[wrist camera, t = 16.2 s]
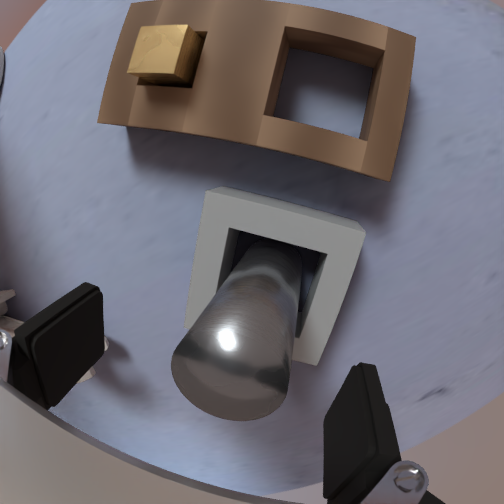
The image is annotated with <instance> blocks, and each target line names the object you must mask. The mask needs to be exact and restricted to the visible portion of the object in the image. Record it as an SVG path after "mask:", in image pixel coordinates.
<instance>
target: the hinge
mask: <svg viewBox="0 0 504 504" xmlns="http://www.w3.org/2000/svg"><path fill="white" fill-rule="evenodd" d="M15 295H16V294H15V291H14V289H10V290H4V291H0V316H2V315H3V314H5V313H6V312H7V304H6V302H5V301H6V300H8V299H10V298H11V297H13V296H15Z"/></svg>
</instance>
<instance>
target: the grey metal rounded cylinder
mask: <svg viewBox="0 0 504 504" xmlns="http://www.w3.org/2000/svg"><path fill="white" fill-rule="evenodd" d="M301 275H302V260H301V257H300V255H299V253H298V251H297V250H296V248H295V247H294V246H293V245H292V244H290V243H286V242H282V241H279V240H275V239H271V238H264V239H261V240H259V241H257V242H255V243H254V244H253V245H252V246H251V247H250V248H249V249H248V250H247V252H246V253H245V255H244V256H243V257H242V259H241V260H240V261H239V263H238V264H237V265H236V267H235V268H234V270H233V271H232V272H231V274H230V275H229V276H228V278H227V279H226V280H225V282H224V283H223V285H222V286H221V287H220V289H219V290H218V291H217V293H216V294H215V295H214V297H213V298H212V300H211V301H210V302H209V304H208V305H207V306H206V308H205V309H204V311H203V312H202V313H201V315H200V316H199V317H198V319H197V320H196V321H195V323H194V324H193V326H192V327H191V328H190V330H189V331H188V332H187V334H186V335H185V337H184V338H183V339H182V341H181V342H180V343H179V345H178V346H177V348H176V349H175V351H174V353H173V356H172V361H171V370H172V375H173V378H174V381H175V383H176V385H177V387H178V388H179V390H180V391H181V393H182V394H183V395H184V396H185V397H186V398H187V399H188V400H189V401H190V402H191V403H192V404H193V405H195V406H196V407H198V408H199V409H201V410H203V411H204V412H206V413H208V414H211V415H213V416H216V417H219V418H222V419H227V420H233V421H250V420H256V419H260V418H263V417H265V416H267V415H269V414H271V413H272V412H274V411H275V410H276V409H278V408H279V407H280V405H281V404H282V403H283V401H284V399H285V398H286V394H287V390H288V384H289V376H290V369H291V362H292V354H293V347H294V339H295V330H296V322H297V313H298V304H299V295H300V285H301Z"/></svg>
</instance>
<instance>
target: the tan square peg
mask: <svg viewBox="0 0 504 504" xmlns="http://www.w3.org/2000/svg"><path fill="white" fill-rule="evenodd" d="M204 43H205V41H204V40H203V39H202V38H201V37H200V36H199V35H198V34H197V33H196V32H195V31H194V30H193V29H192V28H191V27H190V26H189V25H158V26H143V27H141V28H140V31H139V34H138V37H137V40H136V44H135V47H134V50H133V53H132V57H131V60H130V64H129V67H128V71H127V73H129V74H131V75H134V76H136V77H139V78H141V79H144V80H146V81H148V82H151V83H153V84H155V85H158V86H164V87H178V88H190V89H192V87H193V83H194V79H195V75H196V71H197V68H198V64H199V60H200V57H201V53H202V50H203V46H204Z"/></svg>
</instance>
